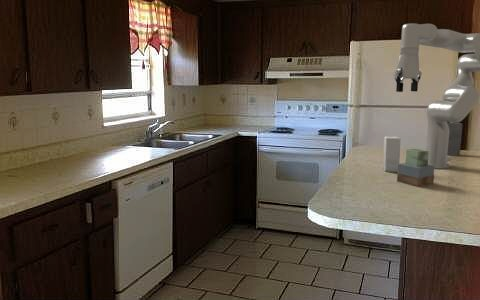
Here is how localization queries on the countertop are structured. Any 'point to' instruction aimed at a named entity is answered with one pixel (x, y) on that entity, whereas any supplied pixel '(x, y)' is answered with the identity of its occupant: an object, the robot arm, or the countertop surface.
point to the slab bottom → (415, 180)
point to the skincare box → (391, 153)
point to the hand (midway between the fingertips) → (406, 91)
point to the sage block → (417, 157)
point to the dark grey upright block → (454, 138)
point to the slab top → (415, 170)
